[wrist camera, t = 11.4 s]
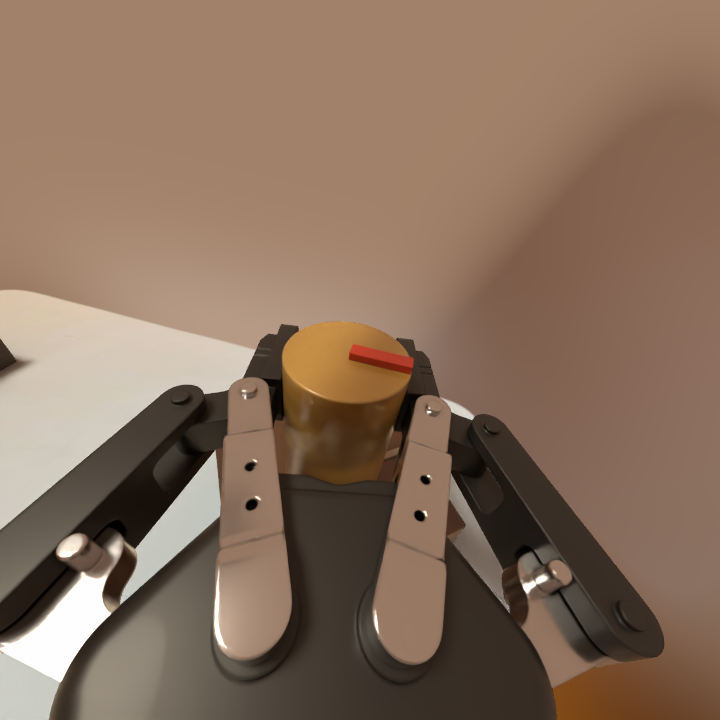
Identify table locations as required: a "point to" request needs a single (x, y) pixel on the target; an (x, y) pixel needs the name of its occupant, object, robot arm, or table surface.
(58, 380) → the table surface
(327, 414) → the lock knob
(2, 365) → the black button base
